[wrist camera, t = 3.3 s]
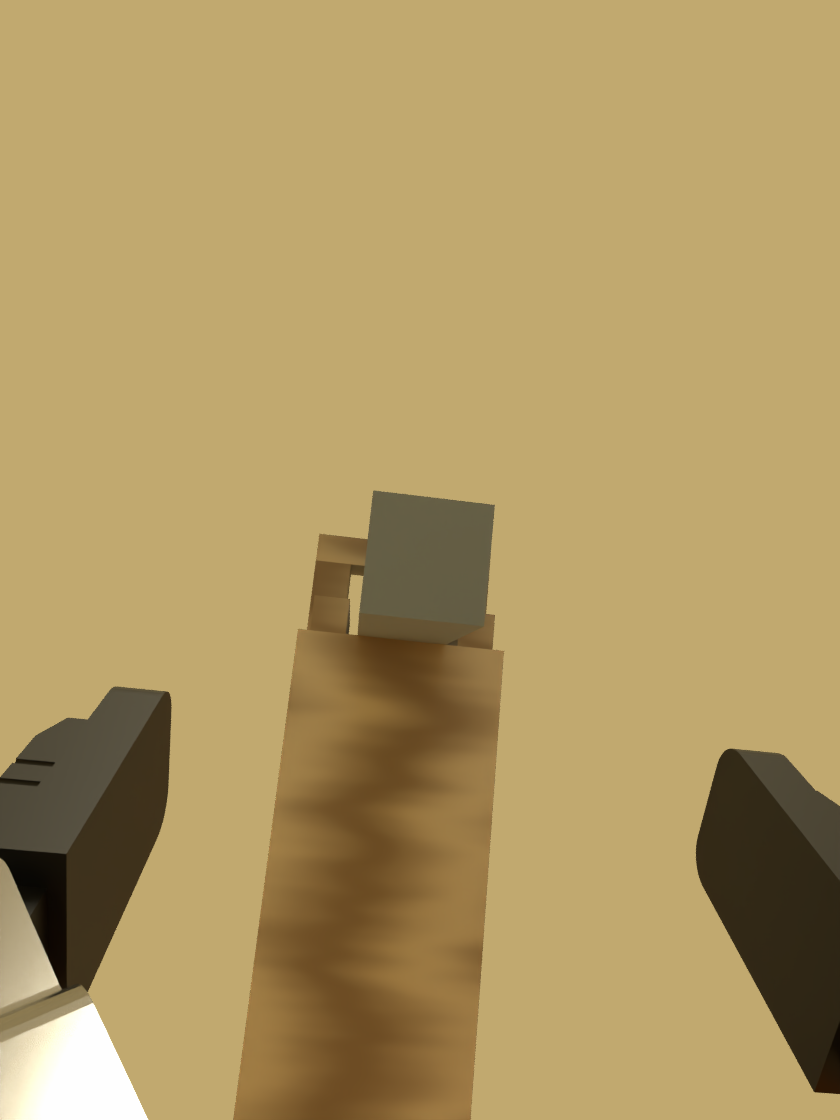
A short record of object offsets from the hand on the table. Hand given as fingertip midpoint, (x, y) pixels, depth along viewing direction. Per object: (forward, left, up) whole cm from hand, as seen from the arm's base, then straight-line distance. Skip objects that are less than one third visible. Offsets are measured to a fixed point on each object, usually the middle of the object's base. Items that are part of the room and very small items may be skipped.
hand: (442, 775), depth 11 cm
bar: (+7, -12, +4) cm, 15 cm away
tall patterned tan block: (+9, -16, -27) cm, 32 cm away
